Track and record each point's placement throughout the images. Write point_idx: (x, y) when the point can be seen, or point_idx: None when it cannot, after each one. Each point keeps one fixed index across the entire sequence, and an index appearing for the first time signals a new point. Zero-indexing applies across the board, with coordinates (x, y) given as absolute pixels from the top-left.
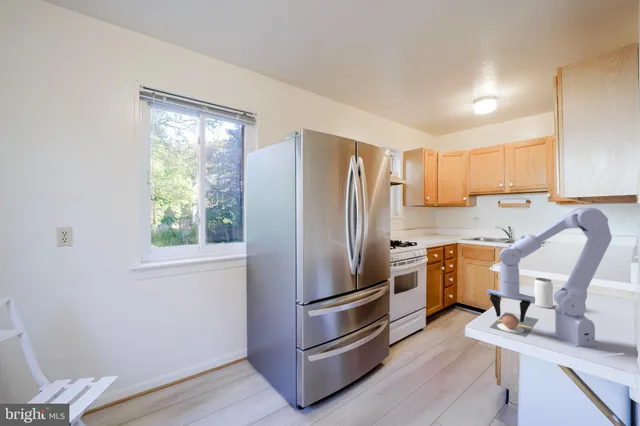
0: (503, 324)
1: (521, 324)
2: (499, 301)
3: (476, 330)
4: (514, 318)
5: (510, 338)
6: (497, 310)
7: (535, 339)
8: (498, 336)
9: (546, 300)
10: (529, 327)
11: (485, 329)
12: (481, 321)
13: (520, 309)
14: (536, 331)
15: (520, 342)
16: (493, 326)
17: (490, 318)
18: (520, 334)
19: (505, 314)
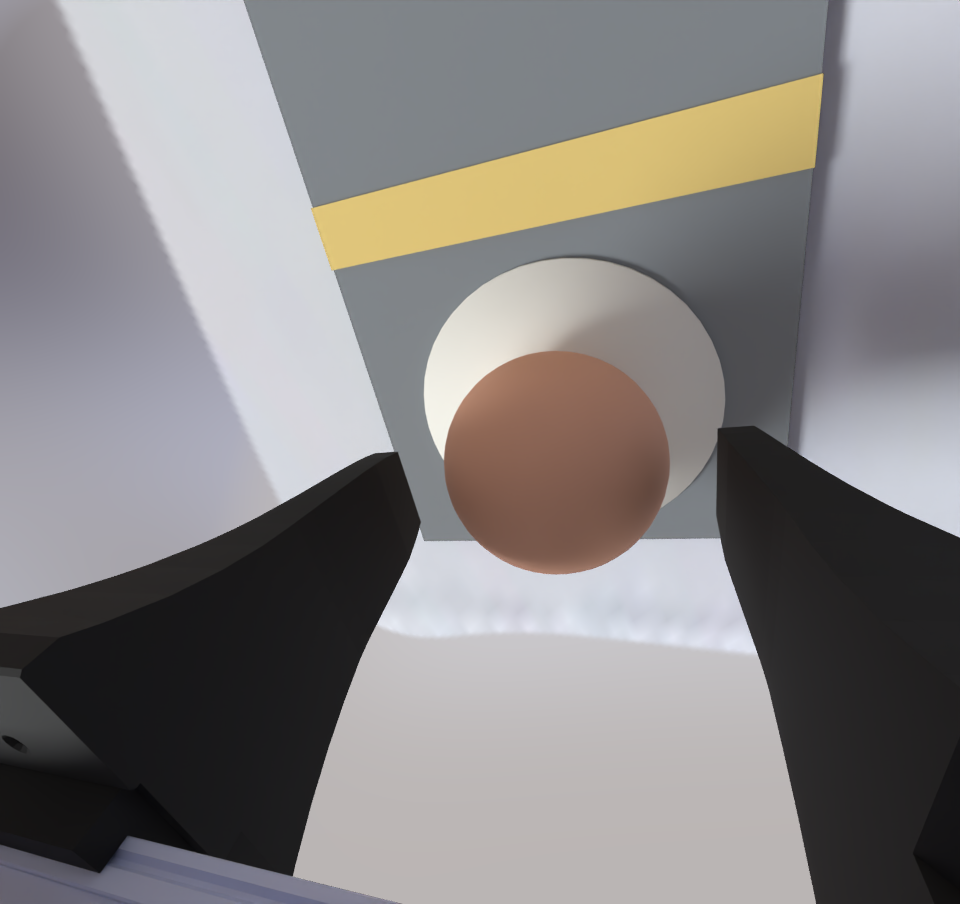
0: (464, 369)
1: (623, 94)
2: (244, 646)
3: (399, 625)
4: (628, 541)
5: (650, 615)
6: (374, 610)
7: (880, 490)
8: (561, 632)
9: None
10: (773, 139)
11: (422, 569)
12: (275, 411)
13: (797, 793)
14: (888, 163)
15: (745, 640)
16: (431, 493)
17: (235, 215)
18: (713, 512)
19: (479, 531)
